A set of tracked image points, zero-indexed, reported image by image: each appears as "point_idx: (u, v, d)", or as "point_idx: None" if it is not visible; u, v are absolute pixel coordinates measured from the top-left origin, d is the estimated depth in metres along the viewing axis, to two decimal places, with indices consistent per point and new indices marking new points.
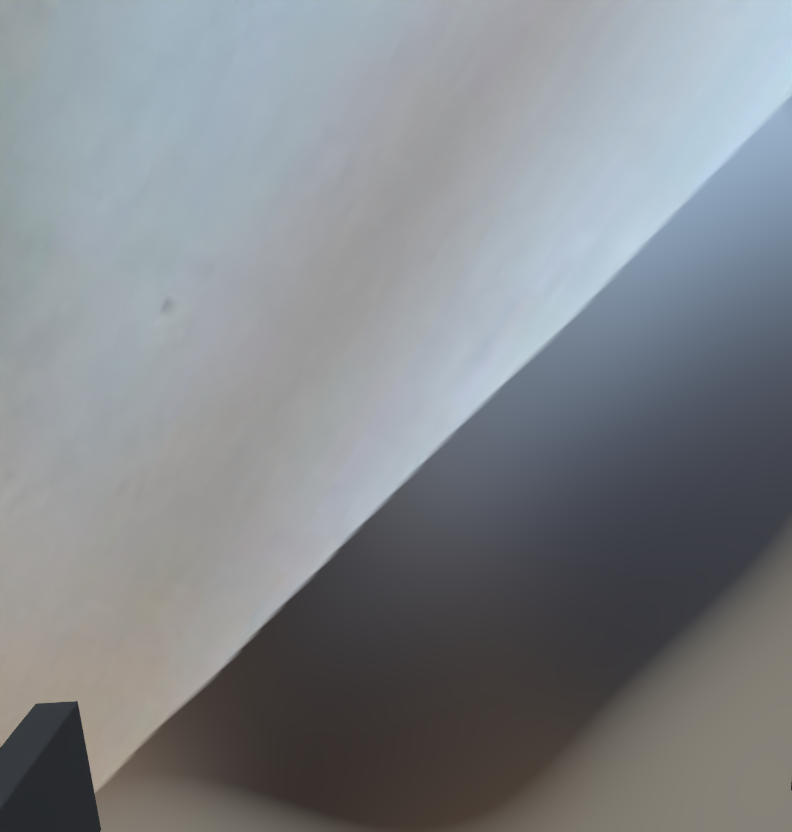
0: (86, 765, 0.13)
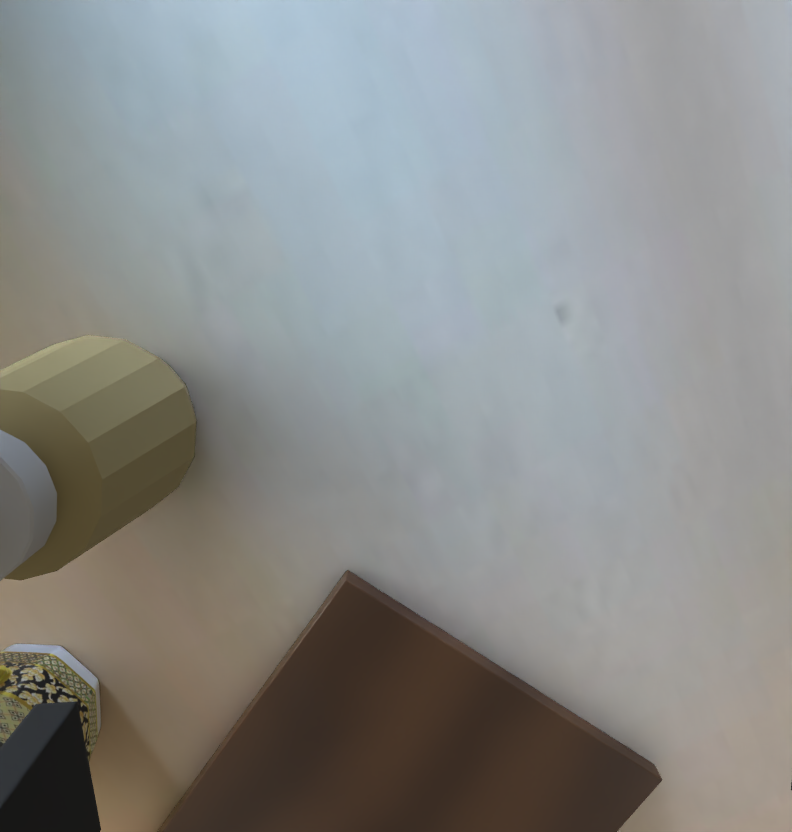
0: (86, 766, 0.13)
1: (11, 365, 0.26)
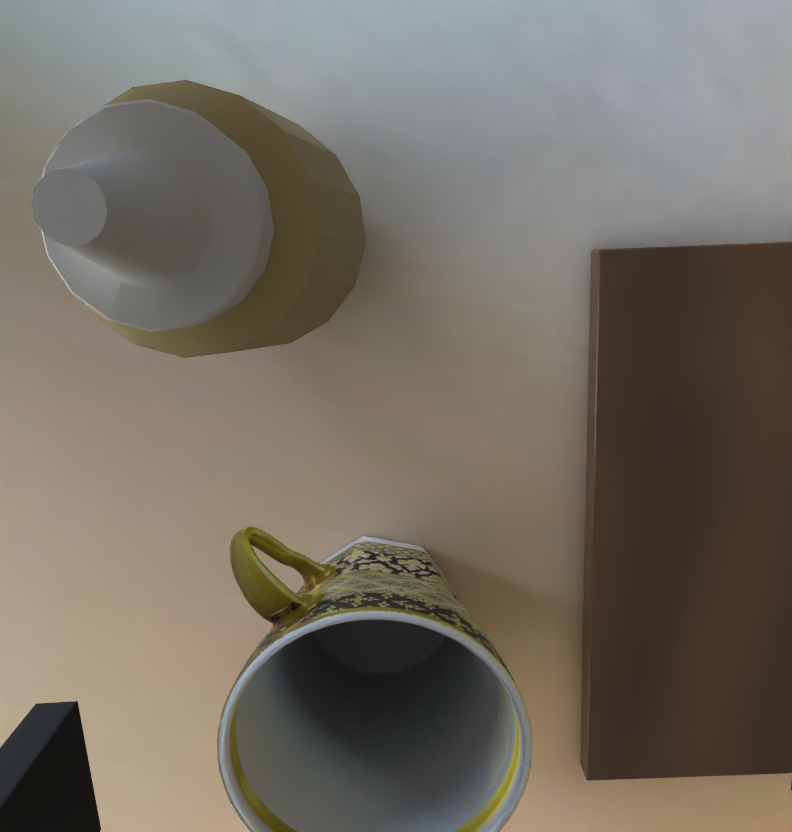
0: (86, 765, 0.13)
1: None
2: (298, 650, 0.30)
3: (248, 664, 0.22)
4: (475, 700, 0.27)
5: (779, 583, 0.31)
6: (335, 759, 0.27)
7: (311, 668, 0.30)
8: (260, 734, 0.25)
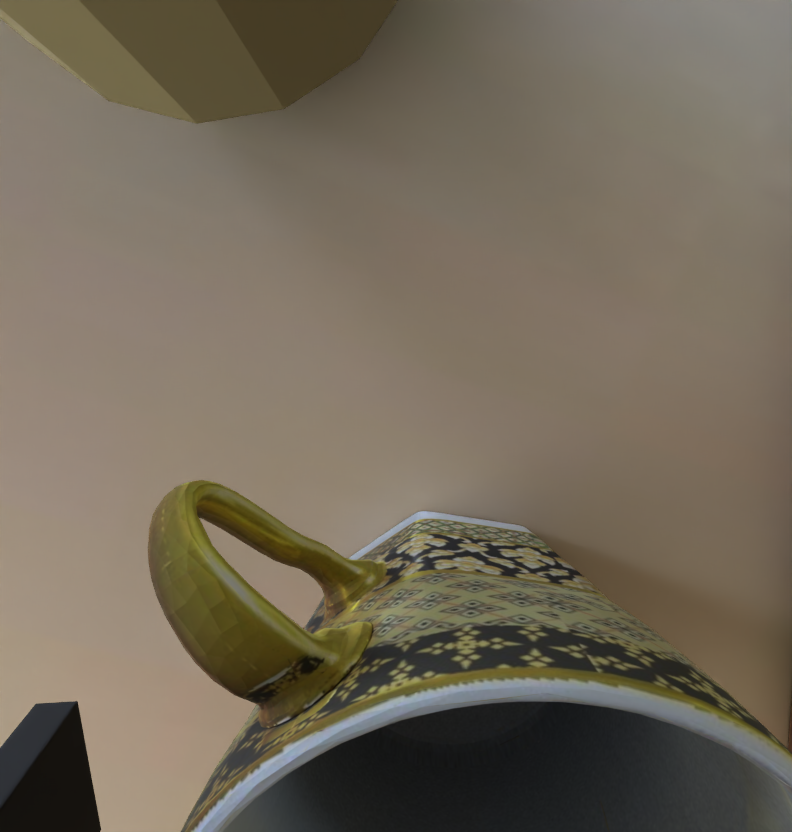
0: (86, 766, 0.13)
1: None
2: None
3: (197, 819, 0.09)
4: (664, 817, 0.14)
5: None
6: None
7: (339, 745, 0.17)
8: None
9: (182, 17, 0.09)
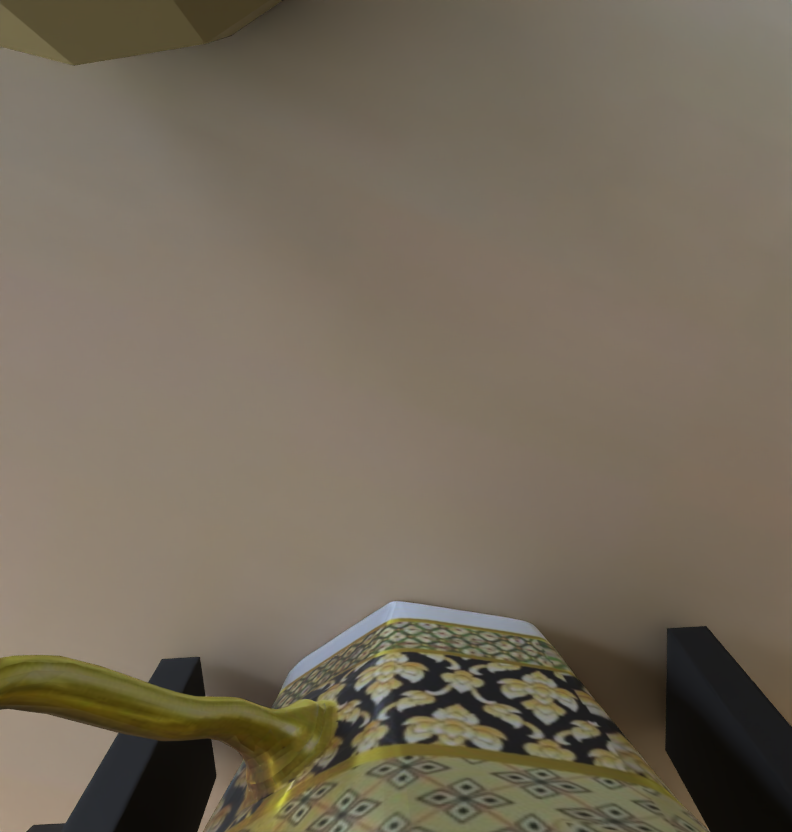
0: None
1: None
2: None
3: None
4: None
5: None
6: None
7: None
8: None
9: None
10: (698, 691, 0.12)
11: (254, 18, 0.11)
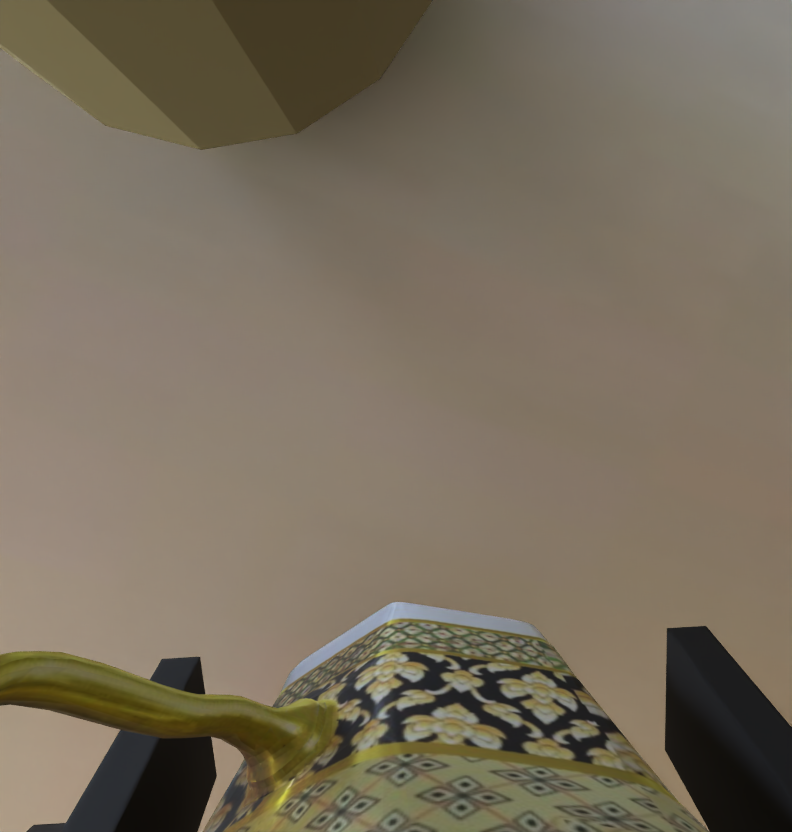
0: None
1: None
2: None
3: None
4: None
5: None
6: None
7: None
8: None
9: (181, 30, 0.07)
10: (698, 691, 0.12)
11: None
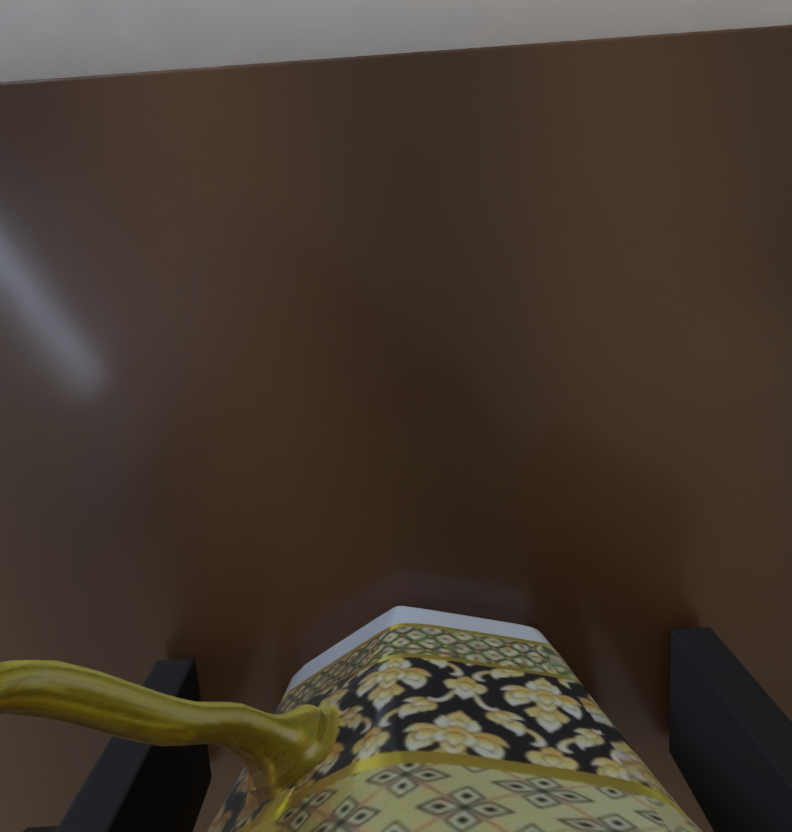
0: None
1: None
2: None
3: None
4: None
5: None
6: None
7: None
8: None
9: None
10: (703, 692, 0.12)
11: None
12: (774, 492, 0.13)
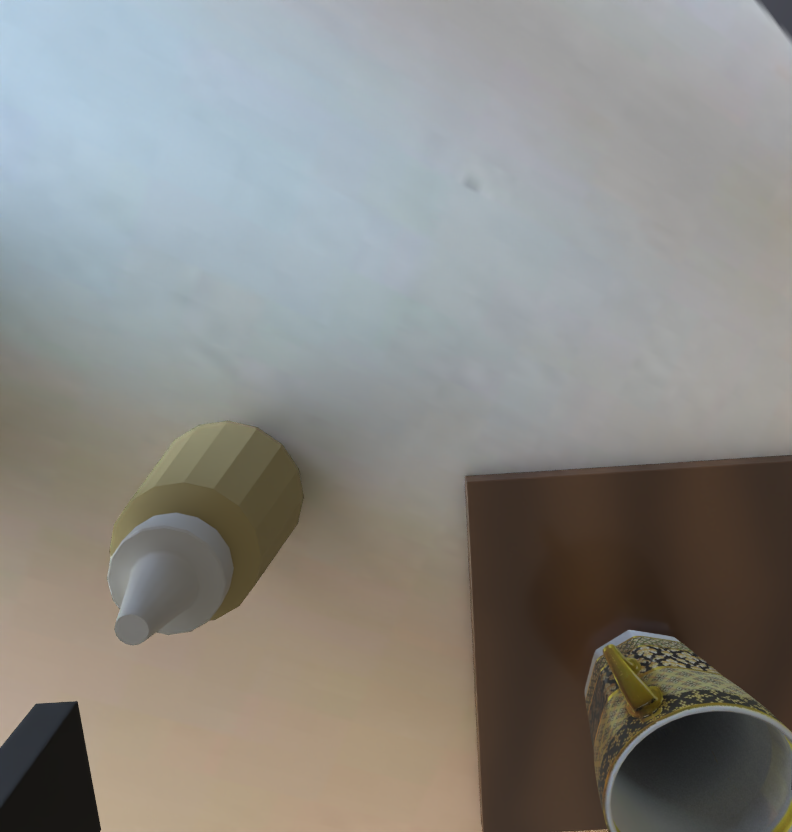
0: (86, 766, 0.13)
1: None
2: None
3: (630, 741, 0.33)
4: (740, 754, 0.38)
5: None
6: (639, 798, 0.39)
7: None
8: None
9: None
10: None
11: None
12: (750, 594, 0.42)
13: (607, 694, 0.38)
